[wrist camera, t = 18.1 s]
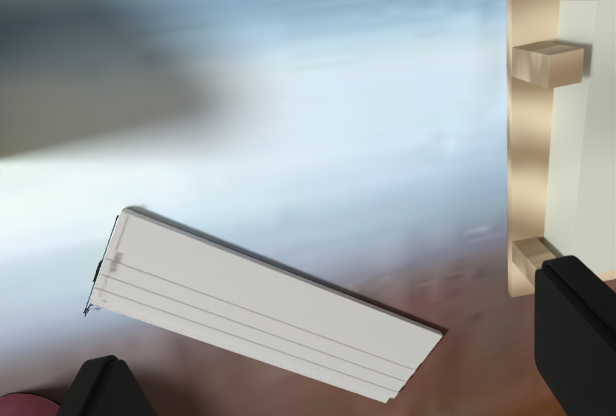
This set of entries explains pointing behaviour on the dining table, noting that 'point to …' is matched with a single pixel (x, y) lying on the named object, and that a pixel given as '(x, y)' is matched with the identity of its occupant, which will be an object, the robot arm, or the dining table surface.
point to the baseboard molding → (256, 309)
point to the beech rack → (533, 130)
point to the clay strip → (585, 142)
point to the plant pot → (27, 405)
